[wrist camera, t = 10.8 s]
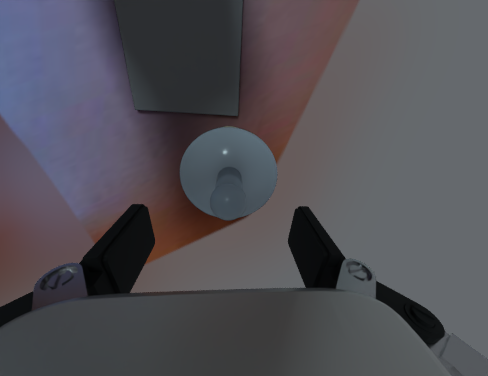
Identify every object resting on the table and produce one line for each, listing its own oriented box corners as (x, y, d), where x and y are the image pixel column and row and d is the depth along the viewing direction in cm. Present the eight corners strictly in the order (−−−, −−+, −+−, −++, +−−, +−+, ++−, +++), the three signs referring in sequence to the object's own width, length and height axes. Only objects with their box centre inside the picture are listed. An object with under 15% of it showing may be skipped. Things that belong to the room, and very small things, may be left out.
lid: (176, 124, 18) (141, 136, 11) (282, 129, 18) (311, 144, 12) (185, 214, 22) (165, 262, 16) (269, 215, 23) (285, 261, 16)
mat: (109, -39, 21) (105, -43, 20) (243, -22, 22) (243, -25, 21) (136, 109, 27) (134, 109, 27) (237, 115, 29) (237, 115, 28)
